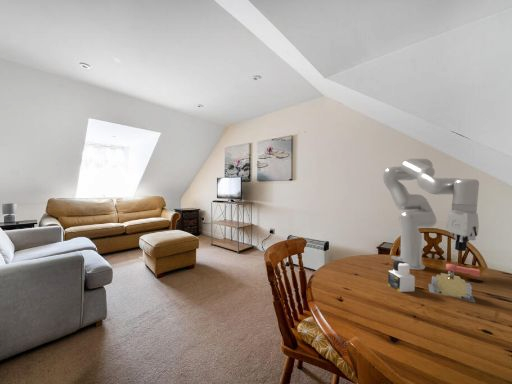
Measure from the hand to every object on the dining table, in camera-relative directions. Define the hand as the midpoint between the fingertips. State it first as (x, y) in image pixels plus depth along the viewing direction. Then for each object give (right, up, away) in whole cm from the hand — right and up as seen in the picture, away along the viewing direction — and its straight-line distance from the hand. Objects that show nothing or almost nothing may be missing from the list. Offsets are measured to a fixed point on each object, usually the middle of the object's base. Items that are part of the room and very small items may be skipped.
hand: (460, 250), depth 91 cm
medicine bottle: (-23, -19, +4) cm, 30 cm away
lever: (-4, -8, -5) cm, 10 cm away
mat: (-5, -18, -1) cm, 19 cm away
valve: (-6, -18, -2) cm, 19 cm away
